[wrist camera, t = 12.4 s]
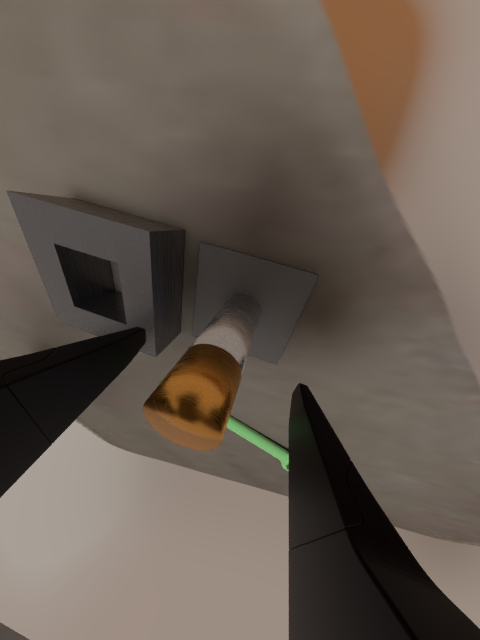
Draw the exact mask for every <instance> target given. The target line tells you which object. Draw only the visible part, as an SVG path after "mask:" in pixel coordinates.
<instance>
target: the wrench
mask: <svg viewBox="0 0 480 640" xmlns="http://www.w3.org/2000/svg"><path fill="white" fill-rule="evenodd" d="M160 383H161V382H160ZM160 383H159V384H160ZM159 384H158V386H159ZM226 427H227V428H229V429H230V430H232V431H234V432H235V433H237V434H238V435H240V436H242V437H243V438H245V439H247V440H248V441H250V442H251V443H253V444H255V445H256V446H258V447H260V448H261V449H263V450H264V451H266V452H268V453H269V454H271V455H273V456H274V457H276V458H277V459H279V460H280V462H281V463H282V467H283V468H284V469H285V470H287V471H289V452H288V451H287V450H285V449H284V448H282V447H280V446H279V445H277V444H276V443H274V442H272V441H271V440H269V439H267V438H266V437H264V436H263V435H261V434H259V433H258V432H256V431H254V430H253V429H251V428H250V427H248V426H246V425H245V424H243V423H241V422H240V421H238V420H237V419H235V418H233V417H232V416H229V420H228V423H227V426H226Z"/></svg>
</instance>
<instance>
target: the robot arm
mask: <svg viewBox="0 0 480 640" xmlns="http://www.w3.org/2000/svg"><path fill="white" fill-rule="evenodd" d="M145 343H146V331H145V329H144V328H141V327H134V328H130V329H126V330H122V331H119V332H115V333H111V334H107V335H103V336H99V337H95V338H91V339H87V340H83V341H79V342H76V343H72V344H68V345H64V346H60V347H57V348H52V349H48V350H44V351H40V352H36V353H32V354H28V355H23V356H19V357H14V358H9V359H5V360H0V497H1V496H2V495H3V494H4V493H5V492H6V491H7V490H8V489H9V488H10V487H11V486H12V485H13V484H14V483H15V482H16V481H17V480H18V479H19V478H20V476H22V474H24V473H25V471H26V470H27V469H28V468H29V467H30V466H31V465H32V464H33V463H34V462H35V461H36V460H37V459H38V458H39V457H40V456H41V455H42V454H43V453H44V452H45V451H46V450H47V449H48V448H49V447H50V446H51V444H52V443H53V442H54V441H55V440H56V439H57V438H58V437H59V436H60V435H61V434H62V433H63V432H64V431H65V430H66V429H67V428H68V427H69V426H70V425H71V424H72V423H73V422H74V421H75V419H76V418H77V417H78V416H79V415H80V414H81V413H82V412H83V411H84V410H85V409H86V408H87V407H88V406H89V405H90V404H91V403H92V402H93V401H94V400H95V399H96V398H97V397H98V396H99V395H100V394H101V393H102V391H103V390H104V389H105V388H106V387H107V386H108V385H109V384H110V383H111V382H112V381H113V380H114V379H115V378H116V377H117V376H118V375H119V374H120V373H121V372H122V371H123V370H124V369H125V368H126V367H127V365H128V364H129V363H130V362H131V361H132V359H133V358H134V357H135V356H136V354H137V353H138V352H139V351H140V349H141V348H142V347H143V346H144V344H145ZM0 640H29V639H27V638H26V637H24V636H22V635H20V634H19V633H17V632H15V631H14V630H12V629H10V628H9V627H7V626H5V625H3V624H2V623H0ZM289 640H480V629H479V628H478V627H477V626H476V625H475V624H474V623H473V622H472V621H471V620H470V619H469V618H468V617H467V616H466V615H465V614H464V613H463V612H462V611H461V610H460V609H459V608H458V607H457V606H456V605H455V604H453V602H451V600H450V599H449V598H448V597H447V596H446V595H445V594H444V593H443V592H442V591H441V590H440V589H439V588H438V587H437V586H436V585H435V583H434V582H433V581H432V580H431V579H430V577H429V576H428V575H427V574H426V572H425V571H424V570H423V569H422V567H421V566H420V565H419V563H418V562H417V560H416V559H415V557H414V556H413V555H412V553H411V552H410V550H409V549H408V547H407V546H406V544H405V543H404V541H403V540H402V538H401V537H400V536H399V534H398V533H397V531H396V529H395V528H394V526H393V525H392V523H391V522H390V520H389V519H388V517H387V516H386V514H385V513H384V511H383V510H382V509H381V507H380V505H379V504H378V502H377V501H376V499H375V498H374V496H373V495H372V493H371V492H370V490H369V489H368V487H367V485H366V484H365V482H364V481H363V479H362V477H361V476H360V474H359V472H358V471H357V469H356V467H355V466H354V464H353V462H352V461H350V457H349V456H348V454H347V452H346V451H345V449H344V447H343V445H342V444H341V442H340V440H339V439H338V437H337V435H336V434H335V432H334V430H333V428H332V427H331V425H330V423H329V422H328V420H327V418H326V417H325V415H324V413H323V412H322V410H321V408H320V406H319V405H318V403H317V401H316V400H315V398H314V396H313V395H312V393H311V391H310V390H309V388H308V386H307V385H304V384H301V383H299V384H298V385H297V387H296V388H295V390H294V392H293V394H292V400H291V409H290V418H289Z"/></svg>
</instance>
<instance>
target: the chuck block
mask: <svg viewBox="0 0 480 640" xmlns="http://www.w3.org/2000/svg"><path fill="white" fill-rule="evenodd" d="M7 194H8V196H9V199H10V201H11V204H12V206H13V209H14V211H15V214H16V216H17V219H18V221H19V224H20V226H21V229H22V231H23V234H24V236H25V239H26V241H27V244H28V246H29V249H30V251H31V254H32V256H33V259H34V261H35V264H36V266H37V269H38V271H39V274H40V276H41V279H42V281H43V284H44V286H45V288H46V291H47V293H48V296H49V298H50V301H51V303H52V306H53V308H54V311H55V313H56V316H57V318H58V321H59V322H61V323H64V324H66V325H69V326H72V327H75V328H77V329H80V330H83V331H86V332H88V333H91V334H94V335H97V336H103V335H107V334H111V333H115V332H119V331H122V330H126V329H130V328H134V327H141V328H144V329H145V331H146V343H145V344H144V346H143V347H142V348H141V349H140V352H143V353H146V354H149V355H151V356H154V357H157V356H158V355H159V354H160V353H161V352H162V351H163V350H164V349H165V348H166V347H167V346H168V345H169V344H170V343H171V342H172V341H173V340H174V339H175V338H176V337H177V336H178V335H179V334H180V331H181V308H182V286H183V264H184V241H185V229H181V228H177V227H174V226H170V225H167V224H163V223H159V222H156V221H152V220H149V219H145V218H142V217H138V216H134V215H131V214H127V213H124V212H120V211H117V210H113V209H109V208H106V207H102V206H99V205H95V204H92V203H88V202H84V201H81V200H77V199H74V198H65V197H57V196H48V195H40V194H31V193H23V192H14V191H7ZM110 261H112V262H115V263H117V264H118V270H119V277H120V283H121V290H122V293H120V292H117V291H115V288H114V282H113V277H112V271H111V265H110Z"/></svg>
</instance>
